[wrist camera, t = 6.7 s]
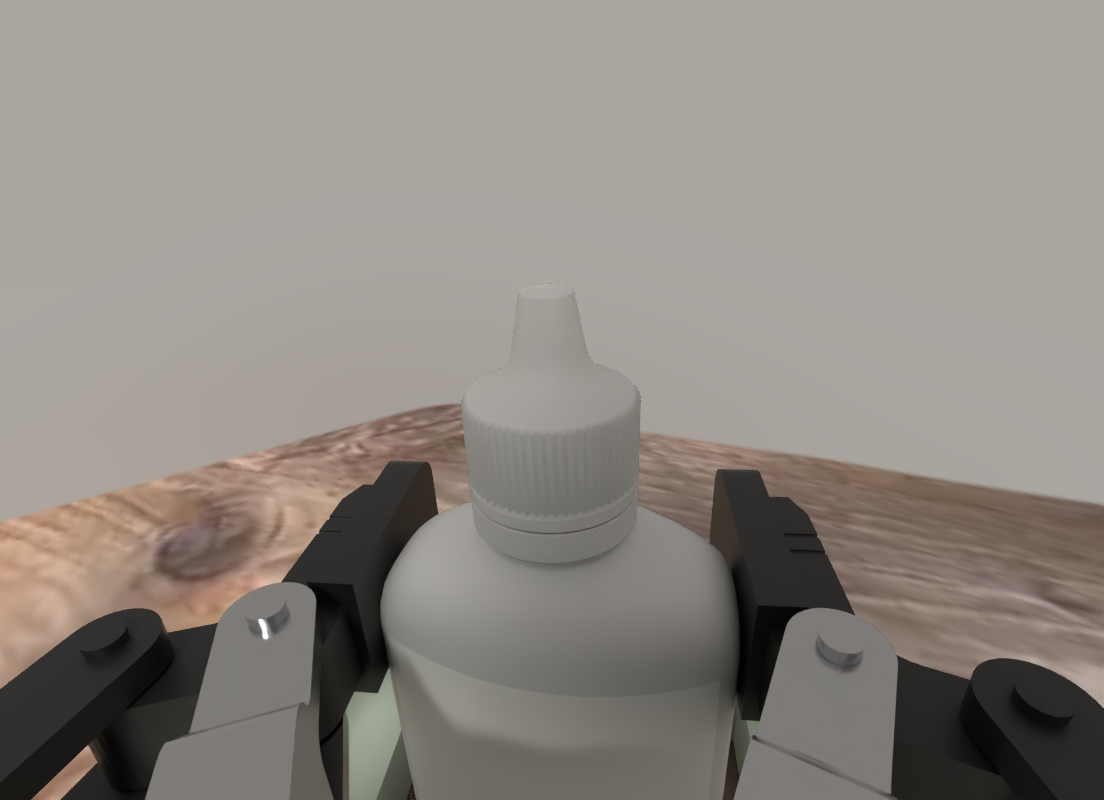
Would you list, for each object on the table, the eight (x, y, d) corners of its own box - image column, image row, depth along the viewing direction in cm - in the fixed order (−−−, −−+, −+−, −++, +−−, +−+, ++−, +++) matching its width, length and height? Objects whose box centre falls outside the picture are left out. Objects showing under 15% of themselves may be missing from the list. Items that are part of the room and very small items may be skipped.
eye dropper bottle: (620, 1097, 9) (639, 411, 4) (402, 846, 13) (270, 296, 8) (741, 857, 12) (838, 283, 7) (539, 705, 16) (508, 242, 11)
